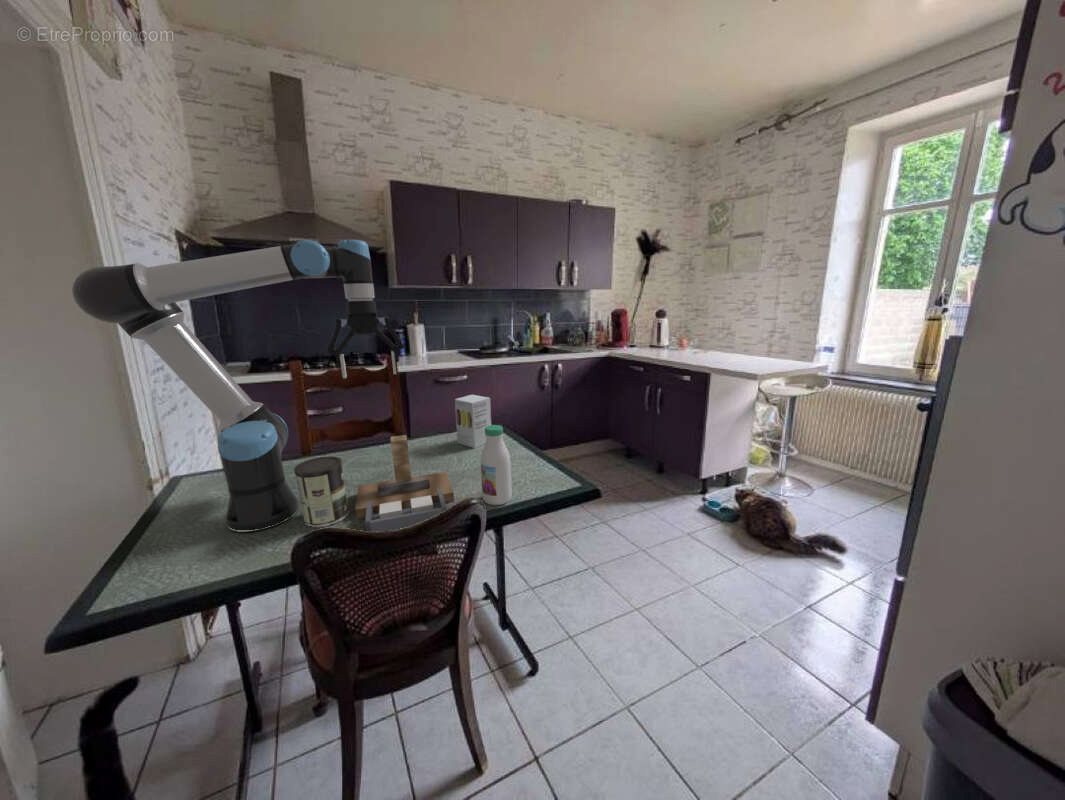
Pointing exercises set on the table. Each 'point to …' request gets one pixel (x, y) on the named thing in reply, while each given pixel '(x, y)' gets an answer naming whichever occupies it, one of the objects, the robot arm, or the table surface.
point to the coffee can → (322, 491)
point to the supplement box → (472, 419)
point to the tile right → (421, 504)
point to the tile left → (390, 509)
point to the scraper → (402, 471)
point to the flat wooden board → (371, 493)
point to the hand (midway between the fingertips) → (370, 375)
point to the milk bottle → (495, 468)
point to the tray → (402, 516)
